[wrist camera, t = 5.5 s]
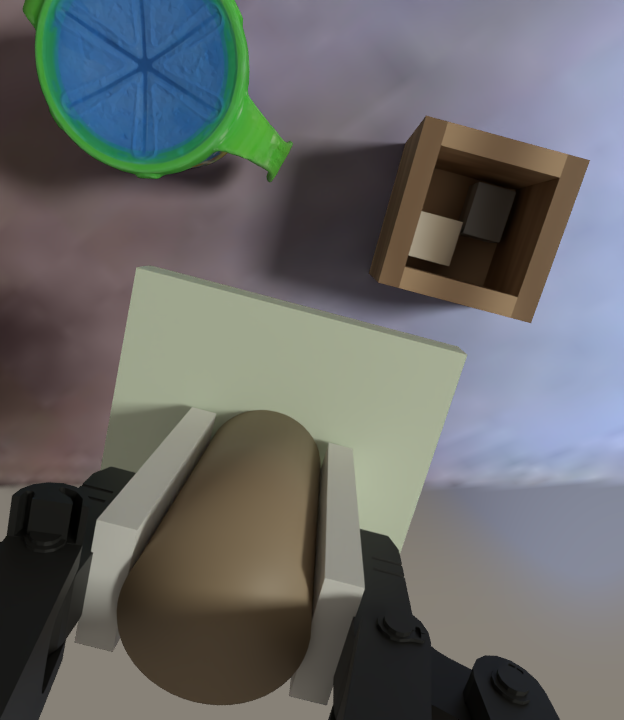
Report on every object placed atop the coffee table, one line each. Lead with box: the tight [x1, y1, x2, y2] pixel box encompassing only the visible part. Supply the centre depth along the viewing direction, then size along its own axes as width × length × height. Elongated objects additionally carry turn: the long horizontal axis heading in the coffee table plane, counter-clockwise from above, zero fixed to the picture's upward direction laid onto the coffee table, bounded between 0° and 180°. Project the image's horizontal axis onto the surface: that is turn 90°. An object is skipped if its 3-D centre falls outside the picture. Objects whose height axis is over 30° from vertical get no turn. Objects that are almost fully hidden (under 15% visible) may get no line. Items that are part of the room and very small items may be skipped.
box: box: [369, 116, 590, 323], centre depth 32 cm, size 9×9×8 cm
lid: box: [100, 266, 467, 705], centre depth 14 cm, size 10×10×8 cm
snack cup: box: [23, 0, 293, 182], centre depth 30 cm, size 16×10×10 cm
